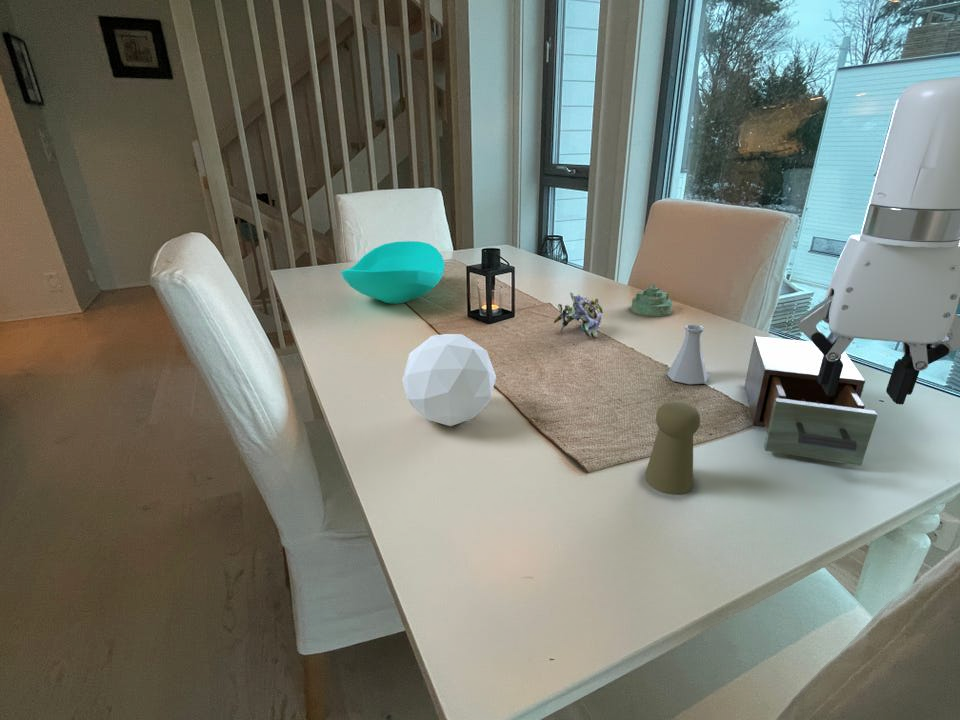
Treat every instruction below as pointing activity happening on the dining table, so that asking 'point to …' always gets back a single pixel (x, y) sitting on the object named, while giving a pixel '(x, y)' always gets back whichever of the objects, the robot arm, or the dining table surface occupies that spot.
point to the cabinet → (788, 369)
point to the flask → (690, 359)
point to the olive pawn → (673, 448)
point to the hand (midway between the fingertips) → (860, 393)
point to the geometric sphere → (449, 379)
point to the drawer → (816, 420)
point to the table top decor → (397, 271)
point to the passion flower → (582, 314)
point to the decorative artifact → (652, 302)
